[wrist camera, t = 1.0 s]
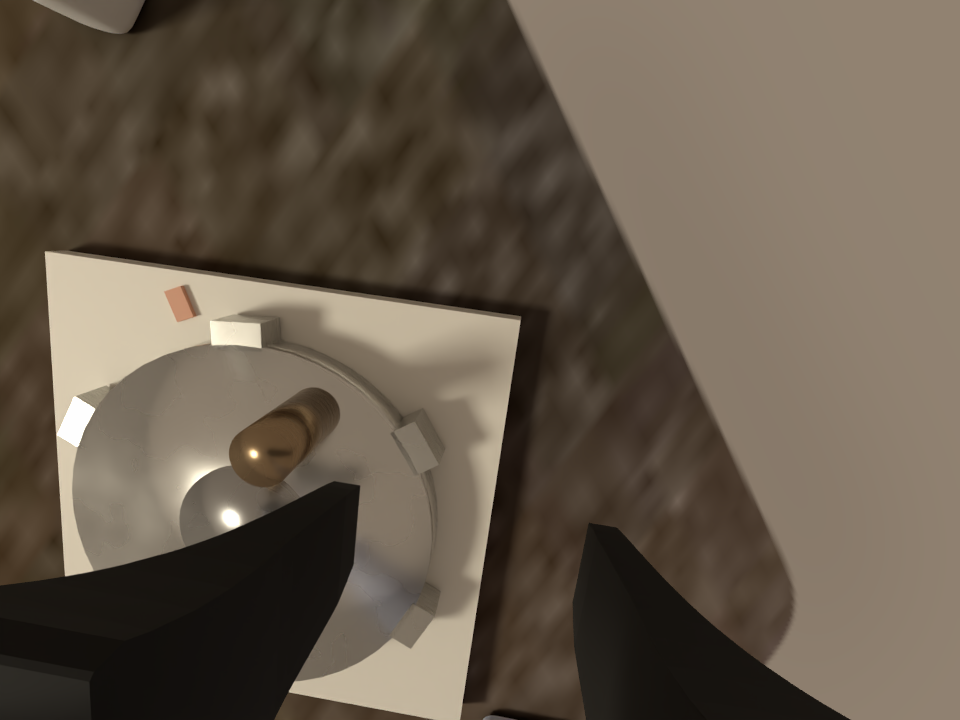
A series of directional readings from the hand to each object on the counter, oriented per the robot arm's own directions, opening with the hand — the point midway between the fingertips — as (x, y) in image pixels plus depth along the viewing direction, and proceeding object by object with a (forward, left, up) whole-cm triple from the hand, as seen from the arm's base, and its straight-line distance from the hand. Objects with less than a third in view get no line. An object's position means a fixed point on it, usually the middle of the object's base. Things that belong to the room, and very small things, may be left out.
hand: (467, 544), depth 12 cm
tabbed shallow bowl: (-5, +9, -8) cm, 13 cm away
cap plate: (-5, +9, -9) cm, 14 cm away
